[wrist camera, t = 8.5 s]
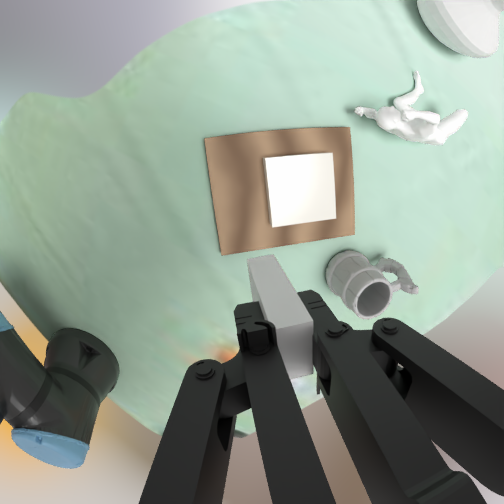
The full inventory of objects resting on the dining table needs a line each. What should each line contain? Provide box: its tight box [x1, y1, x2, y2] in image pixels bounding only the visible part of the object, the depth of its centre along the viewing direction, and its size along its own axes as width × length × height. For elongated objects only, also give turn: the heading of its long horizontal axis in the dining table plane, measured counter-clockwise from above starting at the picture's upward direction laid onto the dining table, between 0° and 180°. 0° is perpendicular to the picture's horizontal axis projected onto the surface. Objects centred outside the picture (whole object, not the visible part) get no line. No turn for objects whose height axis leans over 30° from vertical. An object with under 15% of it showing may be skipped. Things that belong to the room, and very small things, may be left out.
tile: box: [263, 152, 336, 228], centre depth 37 cm, size 2×9×9 cm
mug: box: [326, 250, 418, 319], centre depth 39 cm, size 8×12×12 cm, turn 107°
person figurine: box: [354, 71, 468, 145], centre depth 33 cm, size 13×13×18 cm
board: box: [204, 127, 355, 255], centre depth 38 cm, size 20×16×1 cm
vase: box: [417, 0, 504, 58], centre depth 21 cm, size 18×18×19 cm
